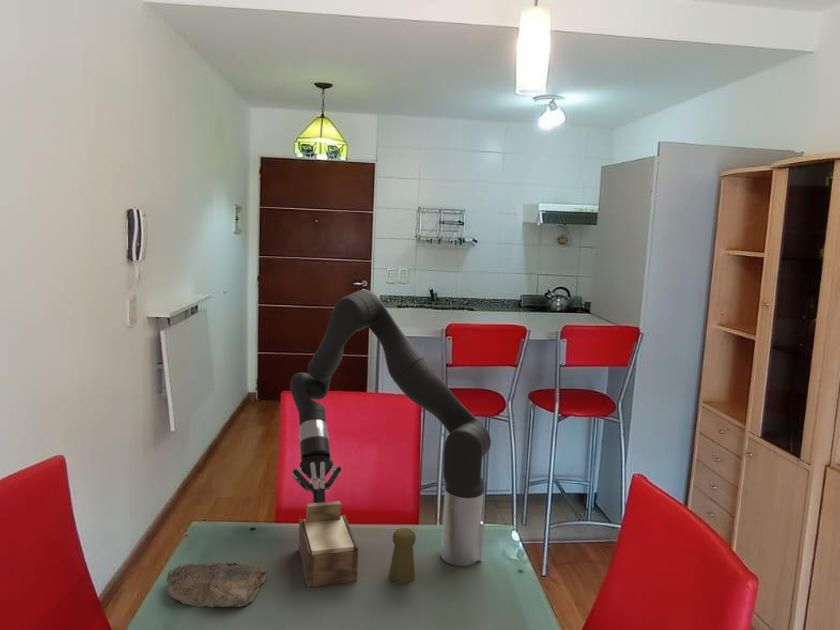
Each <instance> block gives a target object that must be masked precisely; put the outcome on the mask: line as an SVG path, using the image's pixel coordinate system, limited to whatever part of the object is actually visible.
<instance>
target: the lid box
mask: <svg viewBox="0 0 840 630" xmlns="http://www.w3.org/2000/svg"><path fill="white" fill-rule="evenodd" d="M342 517H343V520H344V522H345V525H346V527H347V530H348V532H349V535H350V537H351V540H352V542H353V545H354V551H347V552H338V553H329V554H319V555H311V551H310V547H309V544H308V540H307V536H306V533H305V529H304V525H303V519H302V518H299V520H298V523H299V525H298V554H299V558H300V562H301V567H302V570H303V575H304V579H305V583H306V586H307V588H310V587H319V586H328V585H335V584H336V585H337V584H343V583H351V582H353V583H354V582H358V567H359V566H358V565H359V560H358V559H359V546H358V543H357V542H356V541H357V540H356V539H355V537H354V534H353V532H352V529H351V526H350V524H349V521H348V519H347V517H346V515H345V514H342Z"/></svg>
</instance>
